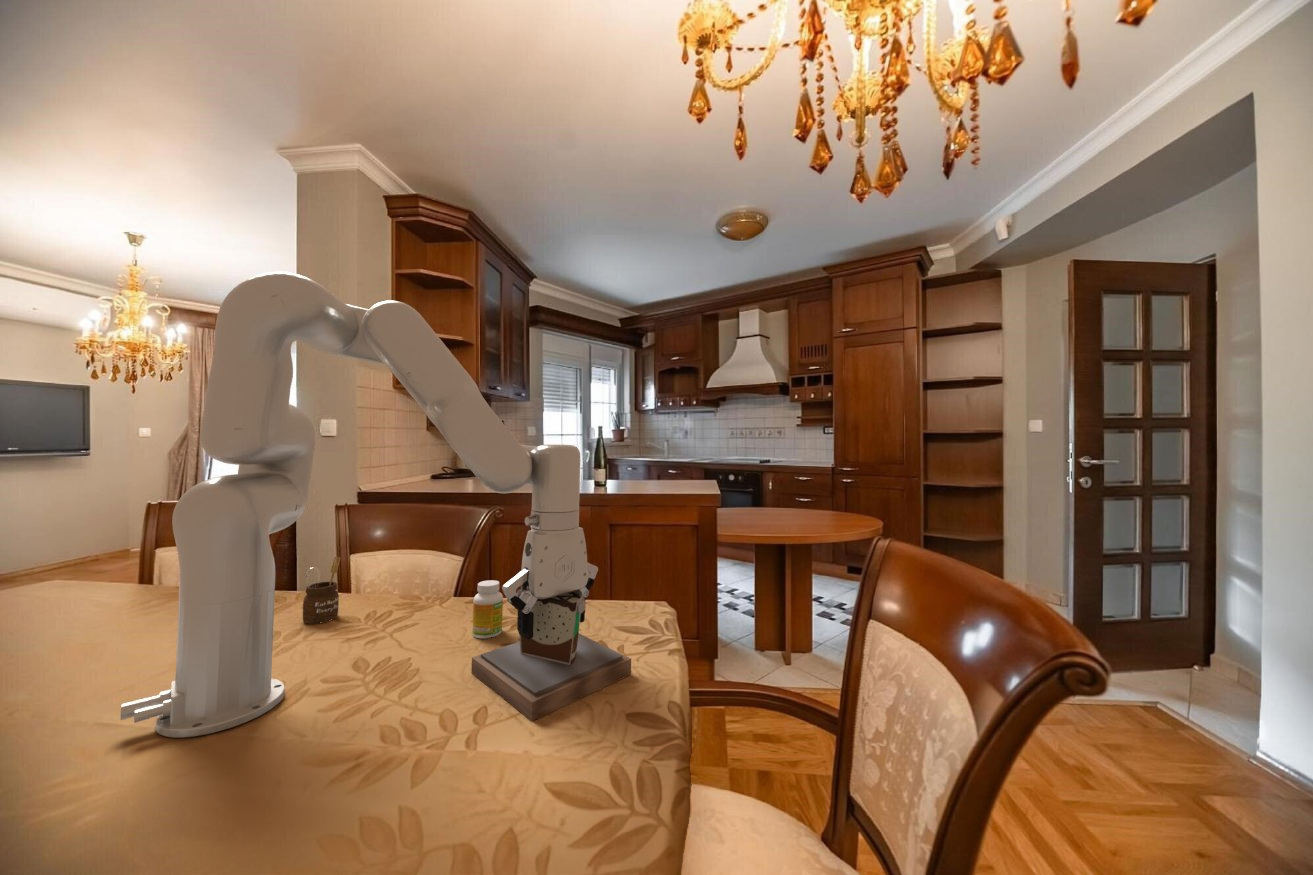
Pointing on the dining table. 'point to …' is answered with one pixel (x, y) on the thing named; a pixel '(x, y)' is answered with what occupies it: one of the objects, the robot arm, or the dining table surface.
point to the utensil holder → (321, 599)
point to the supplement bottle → (487, 610)
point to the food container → (555, 628)
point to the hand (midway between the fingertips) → (552, 627)
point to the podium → (549, 676)
